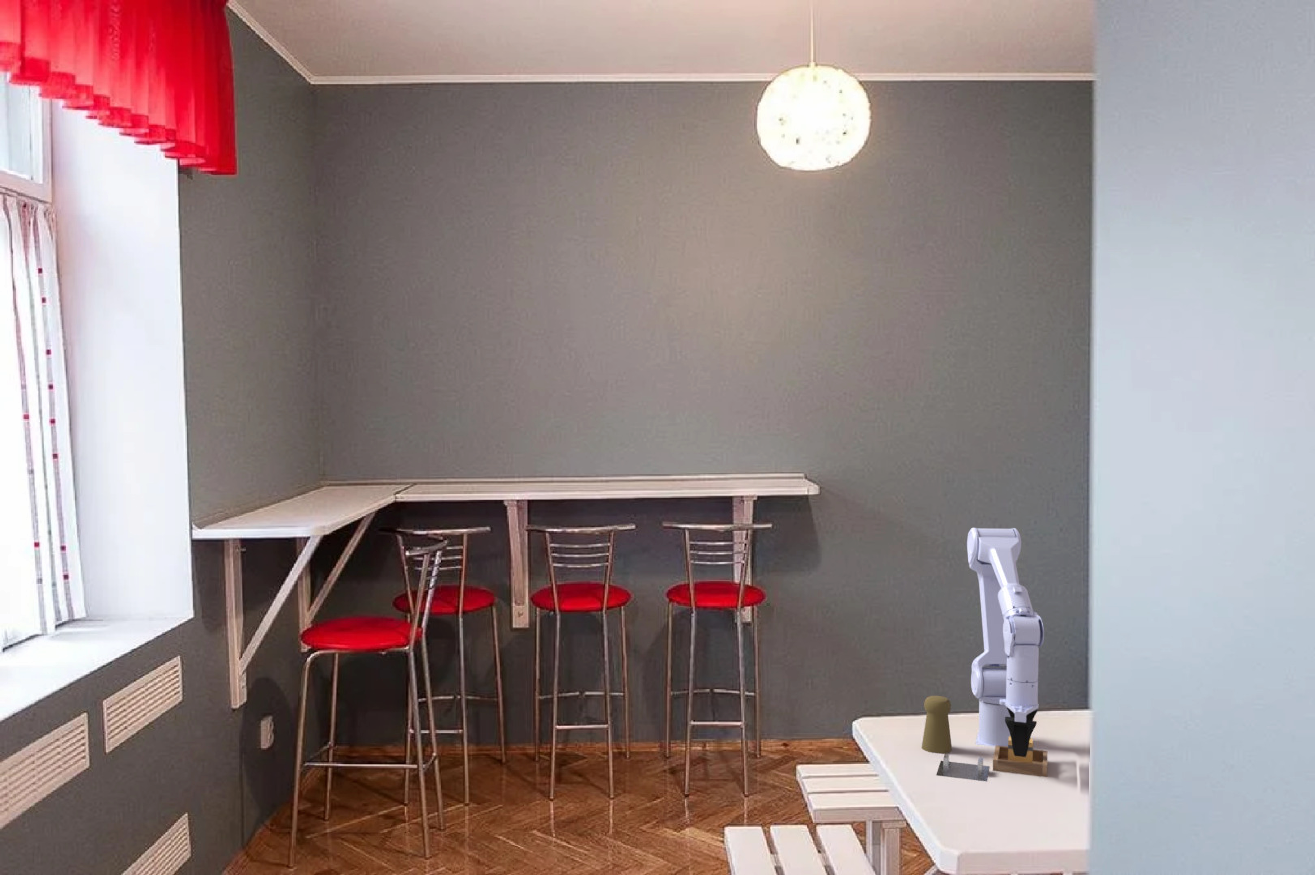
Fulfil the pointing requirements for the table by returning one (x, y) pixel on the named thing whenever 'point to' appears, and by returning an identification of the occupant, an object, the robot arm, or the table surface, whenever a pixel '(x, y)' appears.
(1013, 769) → the tray
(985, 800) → the table surface
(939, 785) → the table surface
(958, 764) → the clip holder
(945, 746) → the cork
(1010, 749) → the block
